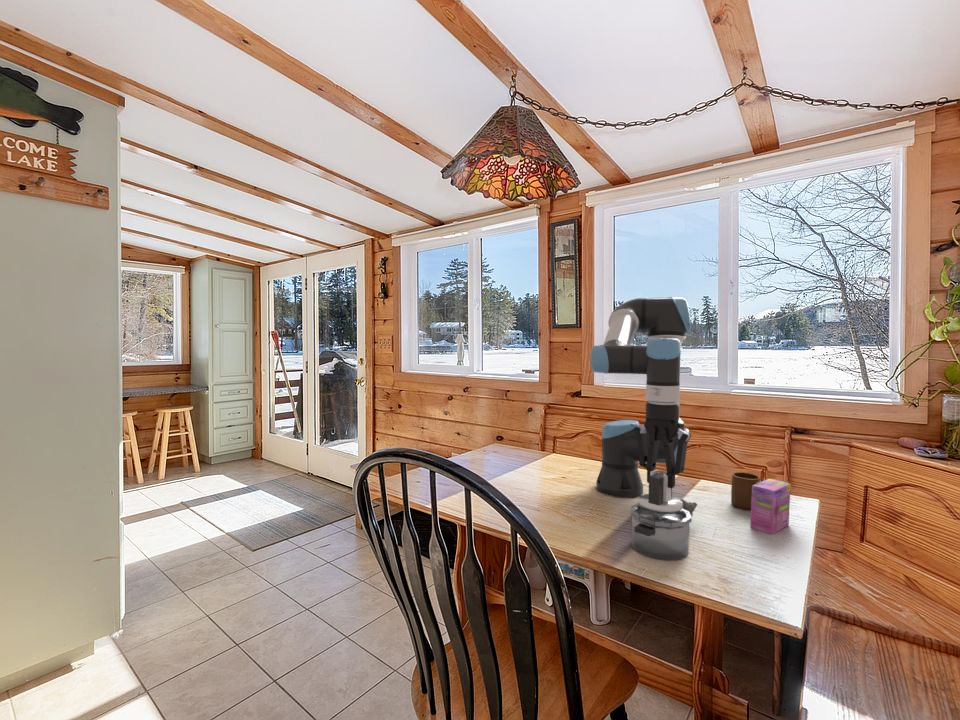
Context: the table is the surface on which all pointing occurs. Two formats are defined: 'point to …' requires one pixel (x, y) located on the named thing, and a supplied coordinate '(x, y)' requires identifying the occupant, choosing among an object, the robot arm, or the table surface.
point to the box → (770, 505)
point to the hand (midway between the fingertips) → (660, 498)
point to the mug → (743, 489)
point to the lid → (659, 497)
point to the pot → (660, 533)
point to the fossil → (689, 506)
